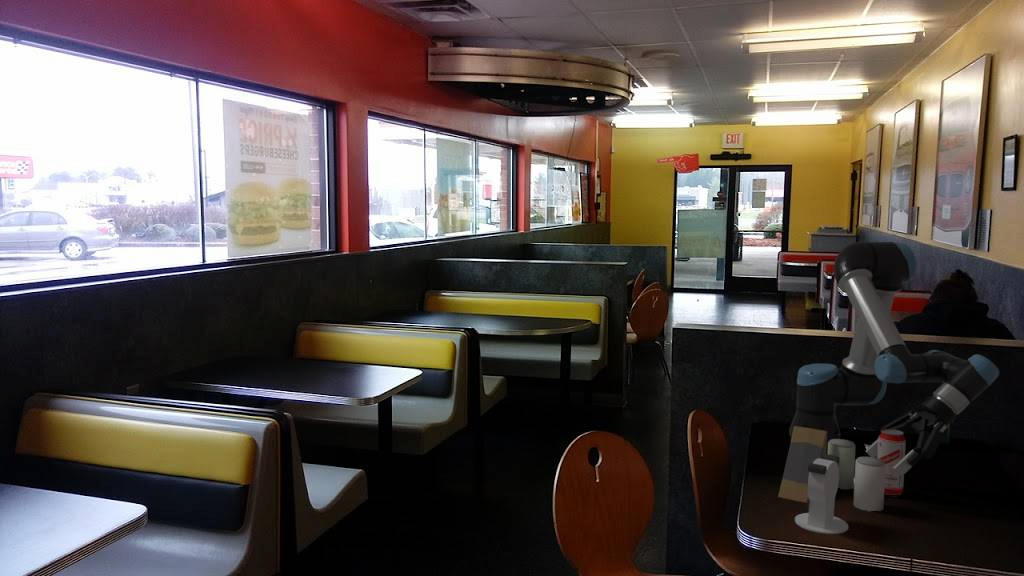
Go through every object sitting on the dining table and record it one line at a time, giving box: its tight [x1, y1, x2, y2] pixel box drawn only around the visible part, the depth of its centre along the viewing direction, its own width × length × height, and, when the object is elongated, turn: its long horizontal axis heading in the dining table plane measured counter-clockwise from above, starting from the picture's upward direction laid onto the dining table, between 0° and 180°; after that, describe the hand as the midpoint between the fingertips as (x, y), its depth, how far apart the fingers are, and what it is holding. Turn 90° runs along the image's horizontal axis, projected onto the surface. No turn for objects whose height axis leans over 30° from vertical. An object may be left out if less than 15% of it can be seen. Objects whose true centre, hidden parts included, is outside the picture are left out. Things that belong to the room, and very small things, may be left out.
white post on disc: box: [794, 453, 849, 535], centre depth 174 cm, size 12×11×15 cm
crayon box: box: [939, 422, 951, 445], centre depth 241 cm, size 7×3×12 cm, turn 172°
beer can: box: [876, 429, 907, 496], centre depth 193 cm, size 6×6×16 cm
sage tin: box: [827, 438, 856, 490], centre depth 199 cm, size 7×7×12 cm
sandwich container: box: [777, 426, 828, 504], centre depth 194 cm, size 9×15×15 cm, turn 147°
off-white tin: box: [853, 456, 886, 512], centre depth 184 cm, size 7×7×12 cm
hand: (882, 463), depth 193 cm, fingers open, 13 cm apart
